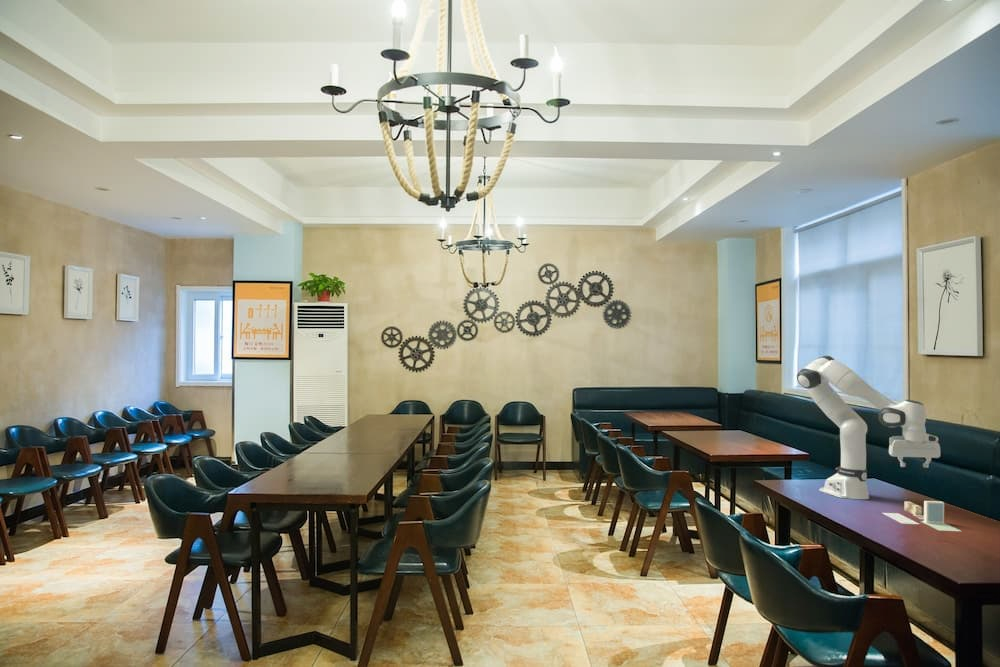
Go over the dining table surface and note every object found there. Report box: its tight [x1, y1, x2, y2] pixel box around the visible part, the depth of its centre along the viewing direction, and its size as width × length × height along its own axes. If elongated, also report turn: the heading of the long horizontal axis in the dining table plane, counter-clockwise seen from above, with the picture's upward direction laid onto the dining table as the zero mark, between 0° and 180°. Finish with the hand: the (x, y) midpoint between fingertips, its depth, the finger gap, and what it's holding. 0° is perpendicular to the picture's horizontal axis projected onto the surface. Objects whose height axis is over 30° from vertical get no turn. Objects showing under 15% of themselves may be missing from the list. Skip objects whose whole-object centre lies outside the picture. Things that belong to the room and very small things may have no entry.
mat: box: [920, 520, 961, 532], centre depth 260 cm, size 13×9×1 cm
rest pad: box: [882, 512, 921, 525], centre depth 270 cm, size 16×7×1 cm, turn 176°
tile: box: [923, 500, 945, 524], centre depth 265 cm, size 2×7×9 cm, turn 86°
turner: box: [903, 501, 924, 520], centre depth 277 cm, size 15×5×4 cm, turn 176°
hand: (914, 467), depth 280 cm, fingers open, 8 cm apart
